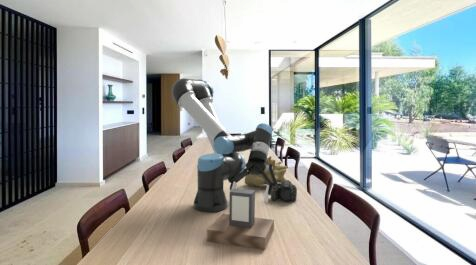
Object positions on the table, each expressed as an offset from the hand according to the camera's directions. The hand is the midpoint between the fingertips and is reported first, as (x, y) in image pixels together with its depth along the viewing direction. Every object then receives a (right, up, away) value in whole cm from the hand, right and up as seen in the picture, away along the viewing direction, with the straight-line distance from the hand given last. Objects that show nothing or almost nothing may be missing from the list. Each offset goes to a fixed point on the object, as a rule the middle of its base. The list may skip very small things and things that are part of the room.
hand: (248, 199), depth 116 cm
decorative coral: (+12, -5, +58) cm, 60 cm away
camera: (+19, -8, +33) cm, 39 cm away
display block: (-2, -11, -8) cm, 14 cm away
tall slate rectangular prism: (-2, -7, -9) cm, 11 cm away
